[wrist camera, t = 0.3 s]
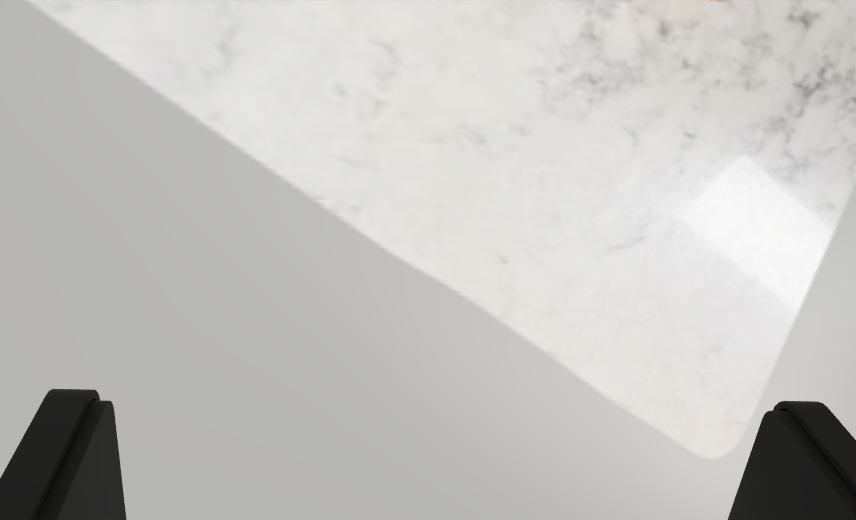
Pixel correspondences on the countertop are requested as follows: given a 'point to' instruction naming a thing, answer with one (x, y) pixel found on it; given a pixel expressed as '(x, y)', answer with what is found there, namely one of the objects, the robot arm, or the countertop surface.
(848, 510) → the robot arm
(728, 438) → the countertop surface
